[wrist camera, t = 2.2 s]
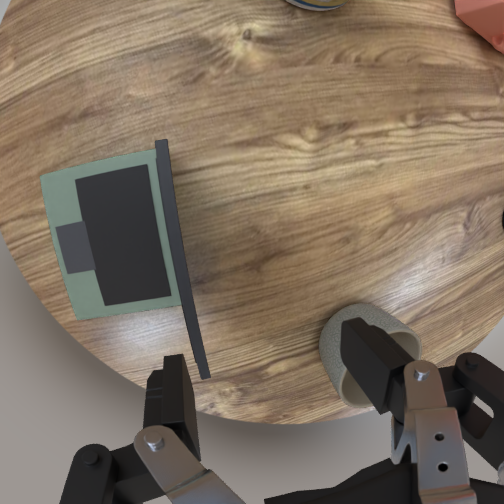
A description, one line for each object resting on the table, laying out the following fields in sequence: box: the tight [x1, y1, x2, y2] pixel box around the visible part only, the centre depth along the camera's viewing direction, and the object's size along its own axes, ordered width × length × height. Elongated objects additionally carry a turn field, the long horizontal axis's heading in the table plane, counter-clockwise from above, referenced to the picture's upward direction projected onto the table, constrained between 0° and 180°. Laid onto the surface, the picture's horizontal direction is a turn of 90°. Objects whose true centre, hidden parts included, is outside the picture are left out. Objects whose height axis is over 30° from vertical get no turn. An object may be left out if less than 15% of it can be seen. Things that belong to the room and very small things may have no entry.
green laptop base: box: [40, 149, 182, 320], centre depth 33 cm, size 14×18×2 cm
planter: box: [319, 303, 422, 408], centre depth 40 cm, size 12×12×11 cm
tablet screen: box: [155, 139, 211, 380], centre depth 27 cm, size 14×18×1 cm
